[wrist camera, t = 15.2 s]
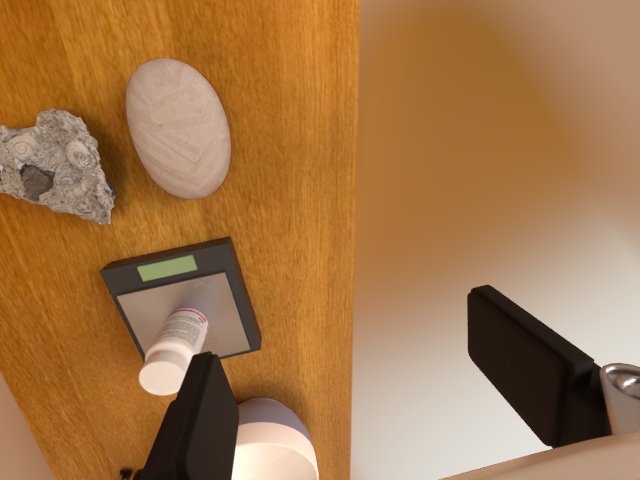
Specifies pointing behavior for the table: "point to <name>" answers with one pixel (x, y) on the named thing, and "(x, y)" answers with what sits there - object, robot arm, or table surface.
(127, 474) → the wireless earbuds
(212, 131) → the decorative stone
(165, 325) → the pill bottle
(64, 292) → the table surface
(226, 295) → the scale pan
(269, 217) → the table surface
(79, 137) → the mineral specimen
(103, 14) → the table surface
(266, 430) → the bowl
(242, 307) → the scale
